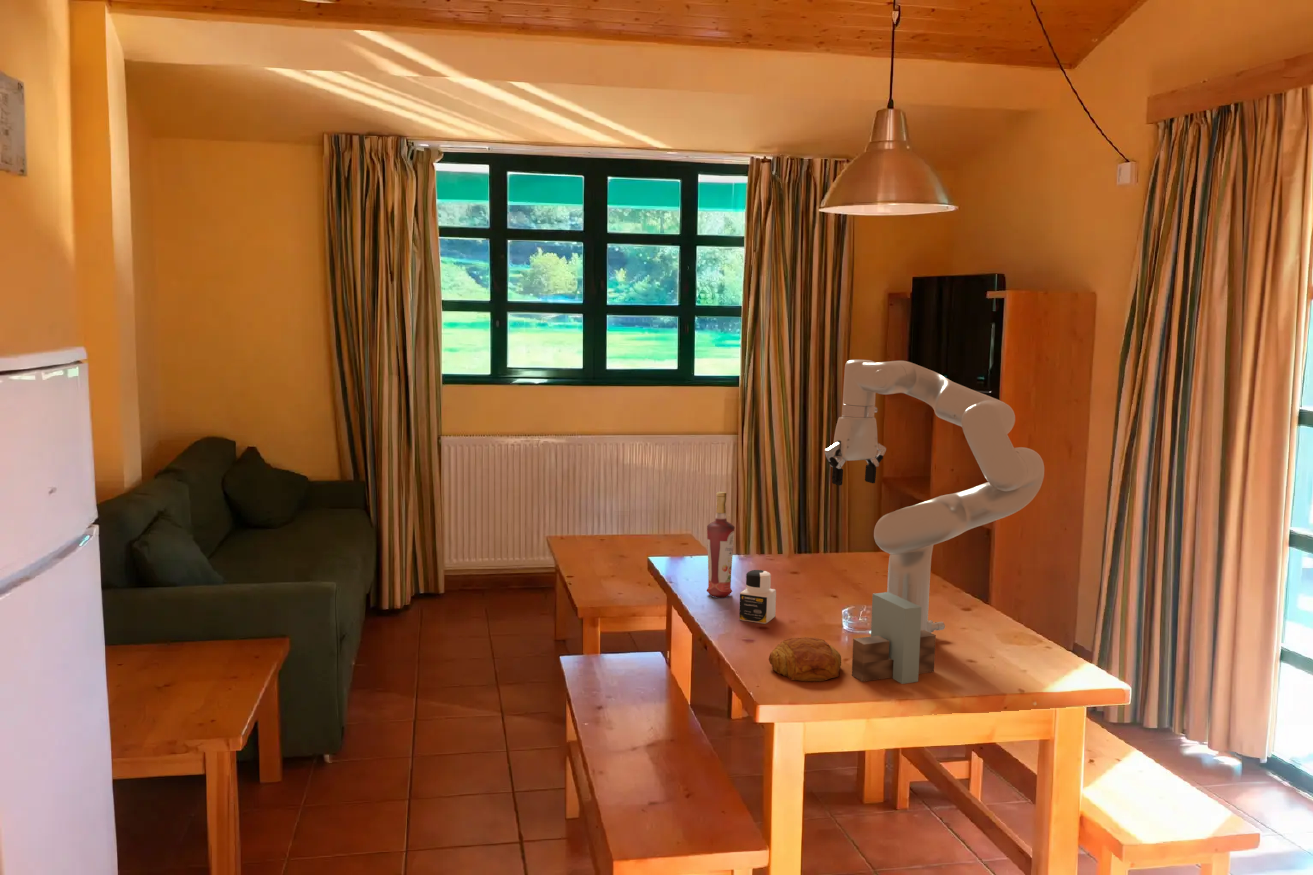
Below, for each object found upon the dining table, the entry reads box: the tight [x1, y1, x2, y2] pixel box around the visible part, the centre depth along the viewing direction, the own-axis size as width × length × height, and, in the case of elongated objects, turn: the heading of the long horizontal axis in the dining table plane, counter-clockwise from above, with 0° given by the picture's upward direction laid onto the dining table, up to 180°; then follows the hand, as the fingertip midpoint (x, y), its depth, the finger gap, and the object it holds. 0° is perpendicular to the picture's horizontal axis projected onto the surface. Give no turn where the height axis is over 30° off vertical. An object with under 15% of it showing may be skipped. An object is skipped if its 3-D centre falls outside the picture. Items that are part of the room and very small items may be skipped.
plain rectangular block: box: [870, 591, 922, 685], centre depth 224 cm, size 12×4×16 cm, turn 22°
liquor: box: [706, 491, 735, 599], centre depth 281 cm, size 7×7×28 cm
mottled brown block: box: [851, 630, 937, 683], centre depth 224 cm, size 18×4×8 cm, turn 112°
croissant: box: [768, 636, 842, 682], centre depth 225 cm, size 14×16×8 cm
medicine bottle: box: [738, 569, 777, 625], centre depth 262 cm, size 7×7×12 cm
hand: (853, 483), depth 252 cm, fingers open, 9 cm apart
